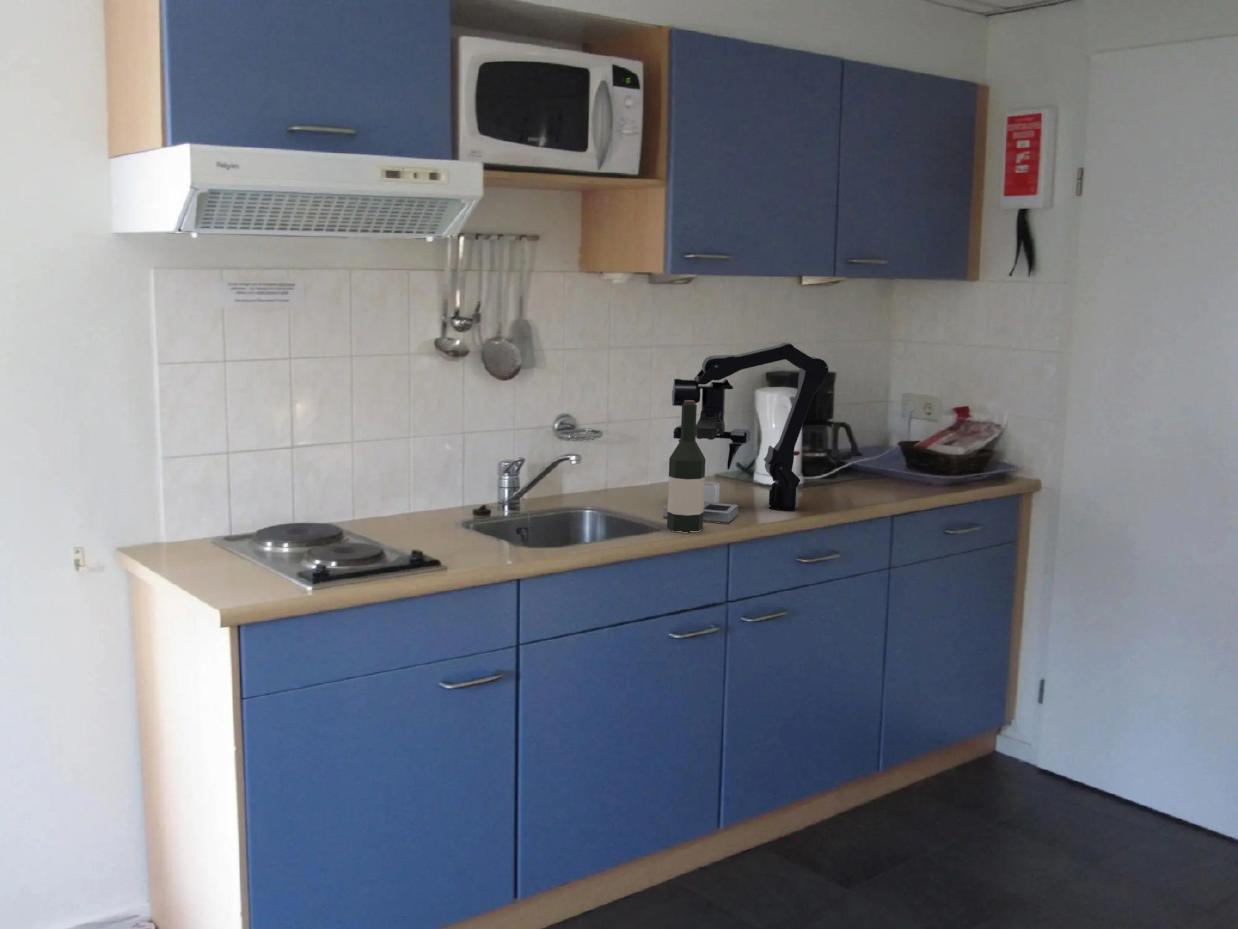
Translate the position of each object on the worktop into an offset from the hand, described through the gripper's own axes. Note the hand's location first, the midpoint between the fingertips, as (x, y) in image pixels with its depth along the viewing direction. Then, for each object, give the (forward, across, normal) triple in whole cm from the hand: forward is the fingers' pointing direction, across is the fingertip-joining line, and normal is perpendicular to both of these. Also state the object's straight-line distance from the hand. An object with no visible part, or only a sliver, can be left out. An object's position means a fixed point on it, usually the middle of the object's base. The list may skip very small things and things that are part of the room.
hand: (710, 467), depth 308 cm
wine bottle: (+10, +1, -28) cm, 30 cm away
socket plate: (+10, +1, -13) cm, 16 cm away
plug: (+10, 0, 0) cm, 10 cm away
